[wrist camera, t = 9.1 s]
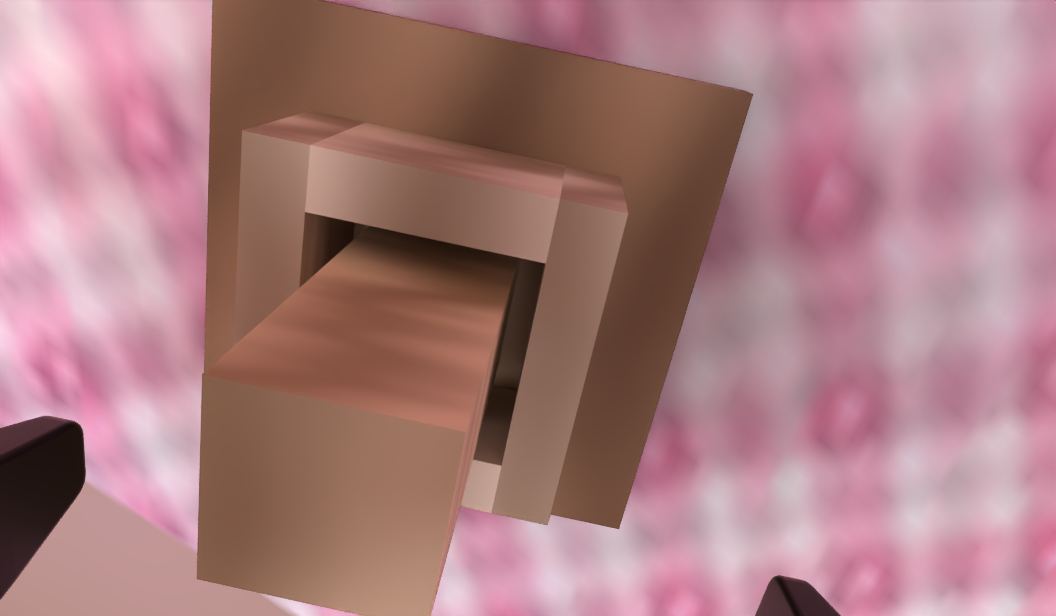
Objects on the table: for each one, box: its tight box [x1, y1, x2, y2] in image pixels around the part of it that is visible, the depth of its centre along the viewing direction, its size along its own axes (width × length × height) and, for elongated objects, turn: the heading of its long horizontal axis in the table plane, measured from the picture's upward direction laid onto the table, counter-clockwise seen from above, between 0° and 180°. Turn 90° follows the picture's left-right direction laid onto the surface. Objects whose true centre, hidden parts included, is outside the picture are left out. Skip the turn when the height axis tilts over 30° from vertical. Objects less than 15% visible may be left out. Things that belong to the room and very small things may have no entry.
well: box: [204, 0, 753, 529], centre depth 19 cm, size 14×14×5 cm
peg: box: [197, 226, 521, 616], centre depth 16 cm, size 4×4×10 cm
